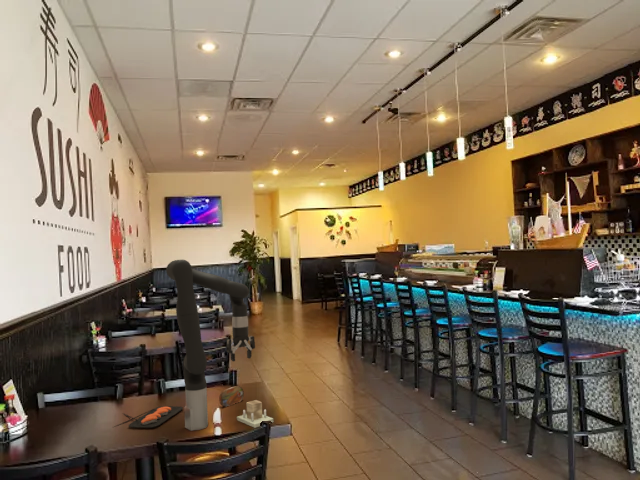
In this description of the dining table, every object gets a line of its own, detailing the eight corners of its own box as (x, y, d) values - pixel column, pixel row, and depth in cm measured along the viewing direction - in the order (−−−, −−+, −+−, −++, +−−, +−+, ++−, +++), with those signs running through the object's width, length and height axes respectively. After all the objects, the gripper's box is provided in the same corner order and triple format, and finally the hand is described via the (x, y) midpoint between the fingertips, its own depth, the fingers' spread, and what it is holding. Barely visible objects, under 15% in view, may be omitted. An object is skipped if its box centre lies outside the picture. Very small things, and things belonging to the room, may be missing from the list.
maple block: (252, 420, 224) (252, 404, 225) (247, 417, 228) (246, 402, 228) (262, 417, 228) (261, 402, 228) (256, 415, 231) (255, 400, 232)
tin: (222, 408, 249) (222, 391, 249) (218, 407, 250) (217, 390, 251) (244, 400, 260) (243, 384, 261) (240, 399, 262) (239, 383, 263)
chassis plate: (254, 427, 219) (254, 416, 219) (236, 420, 230) (236, 409, 231) (273, 422, 225) (273, 410, 226) (255, 414, 237) (254, 404, 237)
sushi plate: (155, 431, 222) (154, 422, 222) (95, 429, 228) (94, 421, 228) (185, 410, 250) (185, 402, 250) (131, 409, 256) (130, 401, 256)
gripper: (230, 328, 232) (232, 363, 231) (257, 324, 241) (258, 358, 240) (223, 326, 238) (224, 361, 237) (249, 323, 247) (250, 356, 246)
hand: (241, 359), depth 239 cm, fingers open, 8 cm apart
